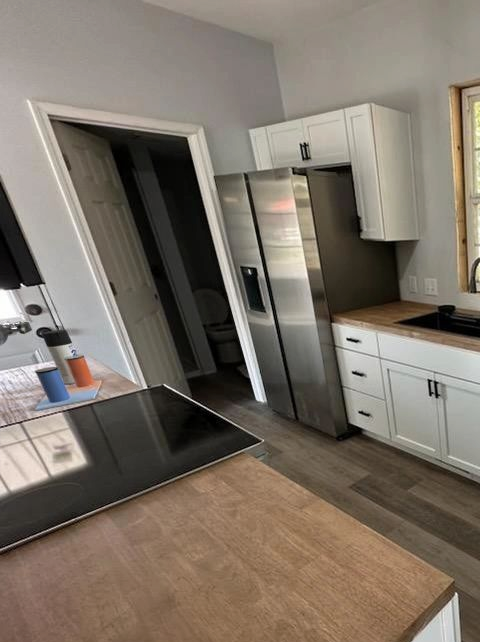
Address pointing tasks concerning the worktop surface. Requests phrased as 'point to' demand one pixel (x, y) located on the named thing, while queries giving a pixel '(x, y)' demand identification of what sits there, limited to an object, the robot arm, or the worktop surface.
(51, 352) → the spray can
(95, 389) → the sorting board
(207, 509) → the worktop surface
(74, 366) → the terracotta canister
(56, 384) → the blue canister
